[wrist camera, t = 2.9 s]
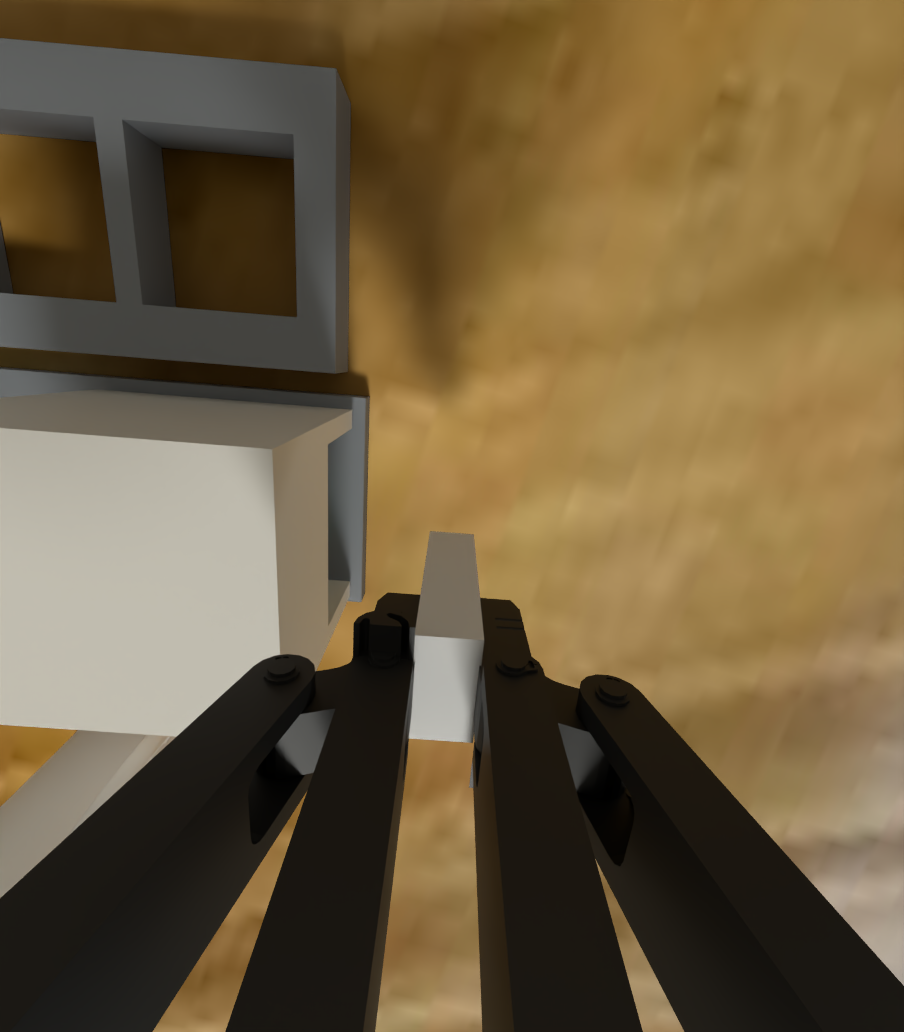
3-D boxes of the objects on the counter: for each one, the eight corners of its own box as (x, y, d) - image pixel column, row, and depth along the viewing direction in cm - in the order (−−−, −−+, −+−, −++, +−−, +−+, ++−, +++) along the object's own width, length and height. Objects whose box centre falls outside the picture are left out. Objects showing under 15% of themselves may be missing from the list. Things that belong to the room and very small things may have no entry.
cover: (123, 579, 24) (-86, 718, 15) (96, 389, 21) (-185, 413, 12) (349, 596, 24) (283, 744, 15) (352, 409, 21) (272, 449, 12)
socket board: (-12, 343, 22) (-66, 341, 19) (-68, 66, 19) (-142, 25, 16) (347, 371, 22) (335, 373, 20) (350, 103, 19) (336, 68, 17)
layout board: (-83, 559, 25) (-210, 607, 20) (-141, 355, 22) (-307, 354, 17) (364, 592, 25) (343, 647, 21) (369, 396, 22) (345, 406, 17)
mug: (159, 623, 26) (-72, 830, 15) (290, 710, 28) (174, 957, 16) (58, 754, 29) (-202, 1014, 17) (182, 826, 30) (18, 1107, 19)
